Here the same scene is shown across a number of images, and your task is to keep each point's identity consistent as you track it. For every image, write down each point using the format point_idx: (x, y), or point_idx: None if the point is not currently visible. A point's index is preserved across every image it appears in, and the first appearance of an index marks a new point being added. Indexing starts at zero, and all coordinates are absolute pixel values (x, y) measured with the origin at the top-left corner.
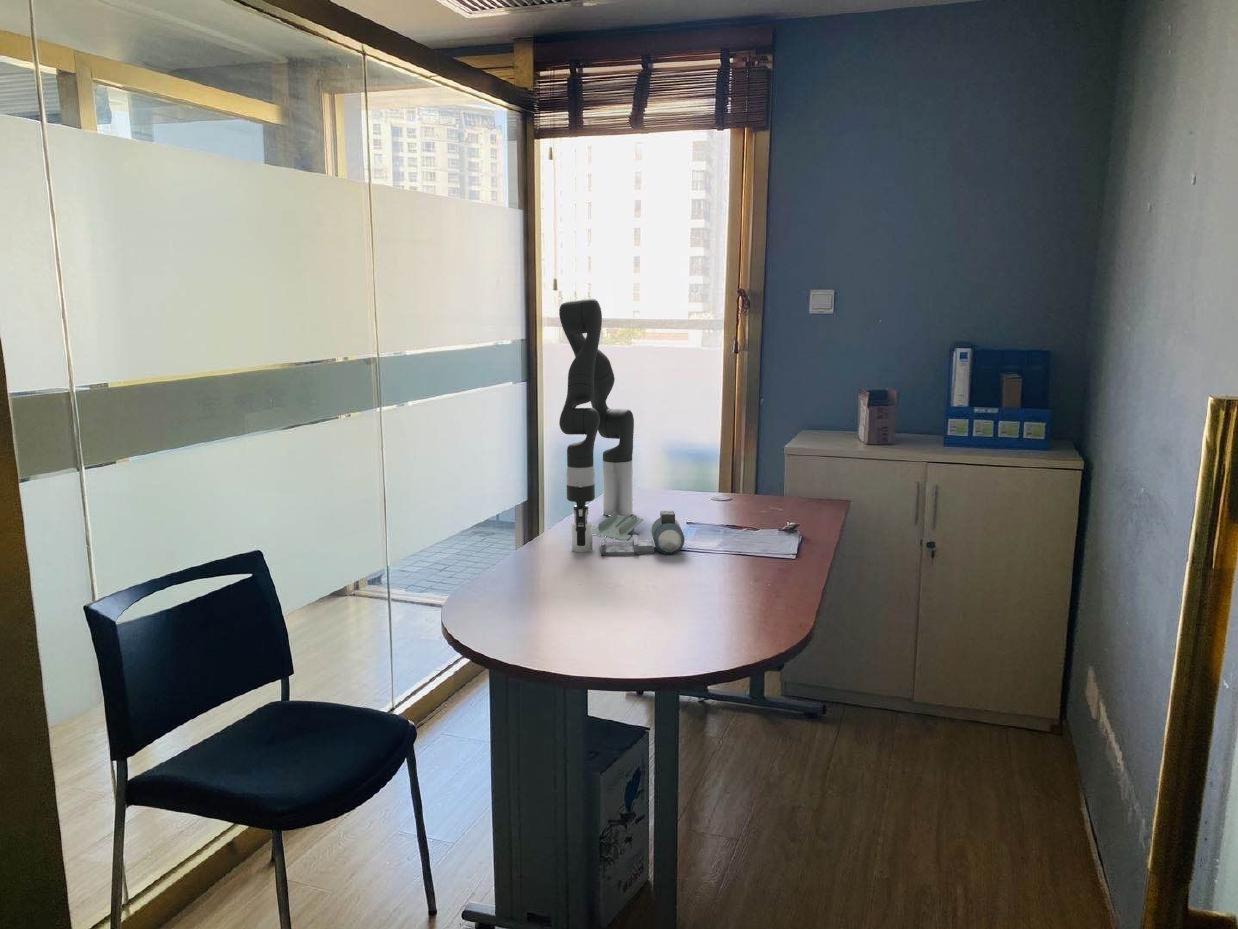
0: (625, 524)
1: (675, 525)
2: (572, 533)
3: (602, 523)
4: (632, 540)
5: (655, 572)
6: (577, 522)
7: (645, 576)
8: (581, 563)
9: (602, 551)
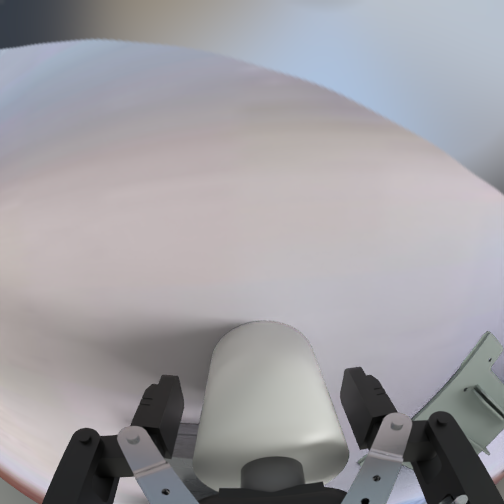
0: None
1: None
2: (233, 387)
3: (485, 404)
4: None
5: None
6: (61, 476)
7: (36, 447)
8: (58, 350)
9: None
